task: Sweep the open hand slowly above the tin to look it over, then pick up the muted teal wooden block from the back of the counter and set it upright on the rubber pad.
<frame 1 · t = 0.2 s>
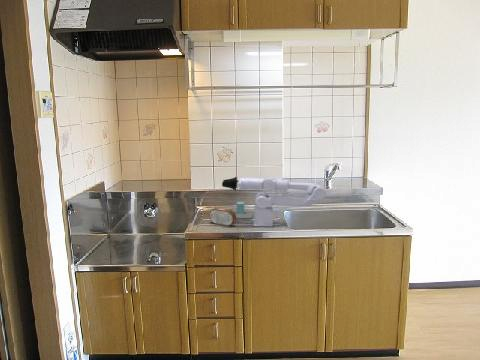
hand: (222, 183, 196), 21 cm above the counter, tool horizontal, fingers open, 7 cm apart
tin: (222, 225, 200), on the counter
pad: (244, 217, 213), on the counter
block: (240, 213, 221), on the counter
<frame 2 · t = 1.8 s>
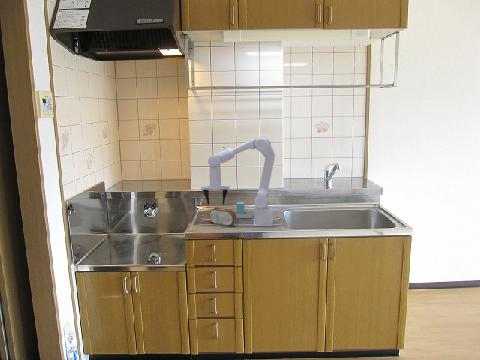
hand: (215, 204, 201), 10 cm above the counter, tool pointing down, fingers open, 7 cm apart
nothing on the counter moved.
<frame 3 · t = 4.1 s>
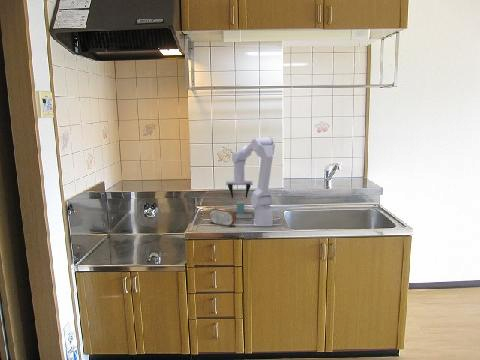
hand: (239, 197, 217), 10 cm above the counter, tool pointing down, fingers open, 7 cm apart
nothing on the counter moved.
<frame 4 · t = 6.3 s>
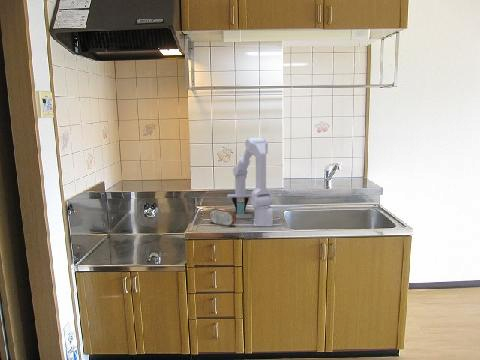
hand: (240, 210, 221), 1 cm above the counter, tool pointing down, fingers closed on block, 4 cm apart
block: (240, 213, 221), on the counter, touching gripper
everything else where it was.
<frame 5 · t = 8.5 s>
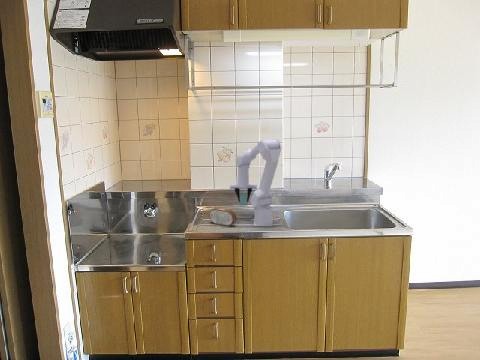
hand: (243, 202, 212), 8 cm above the counter, tool pointing down, fingers closed on block, 4 cm apart
block: (243, 204, 212), point 7 cm above the counter, touching gripper
everything else where it was.
when the fingers open (3 cm above the counter, at t = 10.7 s): block drops 1 cm, resting on pad.
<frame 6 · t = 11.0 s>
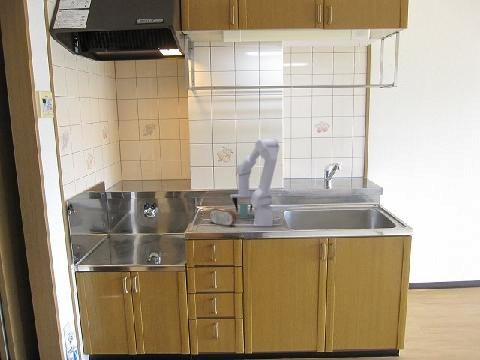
hand: (243, 211, 212), 3 cm above the counter, tool pointing down, fingers open, 7 cm apart
block: (244, 215, 213), point 1 cm above the counter, touching pad
everything else where it was.
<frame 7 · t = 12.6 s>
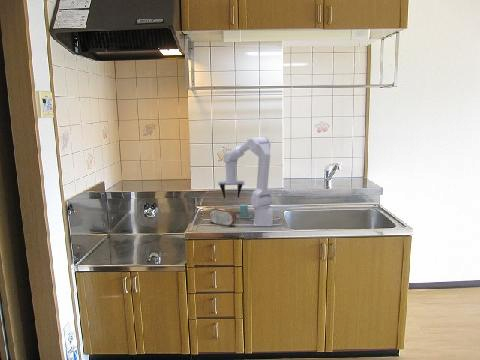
hand: (231, 197, 218), 9 cm above the counter, tool pointing down, fingers open, 7 cm apart
nothing on the counter moved.
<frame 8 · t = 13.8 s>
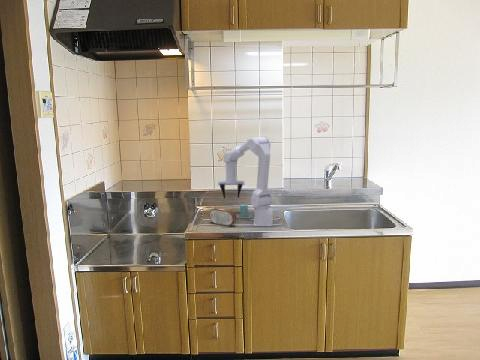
hand: (231, 197, 218), 9 cm above the counter, tool pointing down, fingers open, 7 cm apart
nothing on the counter moved.
at the end: block inside the target area (0.1 cm from its centre), point 0.8 cm above the counter; block tilted 0°; the gripper is holding nothing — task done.
